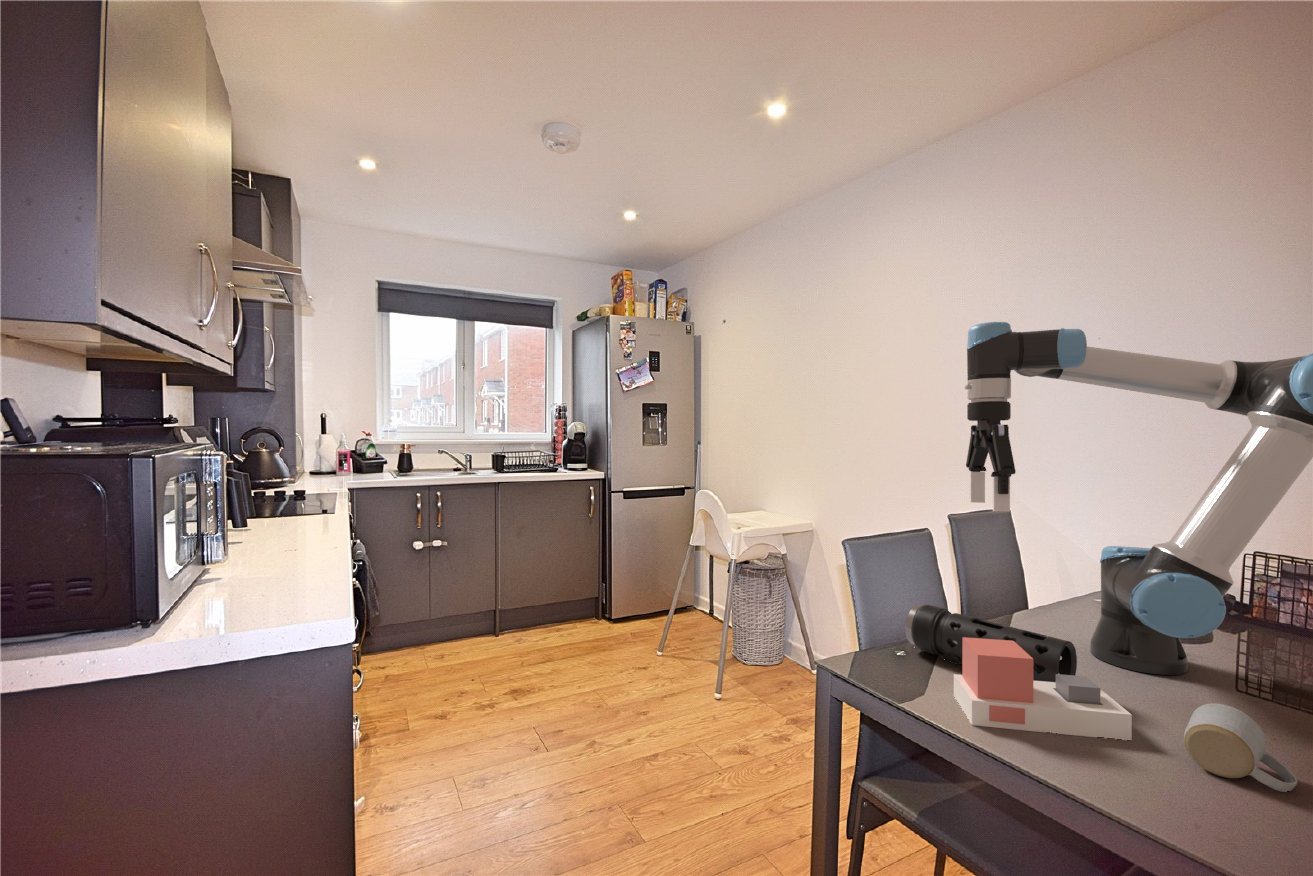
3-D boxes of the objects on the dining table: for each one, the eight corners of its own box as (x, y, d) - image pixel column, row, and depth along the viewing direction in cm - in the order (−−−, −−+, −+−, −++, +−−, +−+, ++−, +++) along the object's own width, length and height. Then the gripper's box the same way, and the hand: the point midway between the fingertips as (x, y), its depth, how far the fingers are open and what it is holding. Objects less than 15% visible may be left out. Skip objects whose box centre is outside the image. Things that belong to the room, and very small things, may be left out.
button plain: (1085, 700, 93) (1085, 676, 93) (1100, 713, 89) (1100, 688, 89) (1055, 698, 94) (1055, 674, 94) (1068, 710, 90) (1068, 685, 90)
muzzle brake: (1056, 707, 97) (1057, 646, 97) (902, 655, 119) (902, 606, 119) (1077, 691, 102) (1077, 634, 102) (926, 645, 125) (926, 598, 125)
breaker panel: (1096, 709, 95) (1096, 685, 95) (1132, 741, 86) (1132, 715, 85) (953, 696, 100) (953, 674, 100) (972, 726, 90) (972, 701, 90)
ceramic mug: (1180, 766, 79) (1182, 712, 79) (1191, 745, 84) (1192, 694, 84) (1294, 806, 71) (1296, 746, 71) (1298, 780, 76) (1300, 724, 76)
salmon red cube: (1013, 681, 97) (1013, 640, 97) (1033, 703, 89) (1033, 659, 89) (962, 677, 99) (962, 637, 99) (977, 698, 91) (977, 654, 91)
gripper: (950, 404, 127) (950, 498, 127) (990, 397, 103) (990, 515, 103) (987, 403, 125) (987, 499, 125) (1036, 397, 101) (1036, 516, 101)
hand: (988, 506), depth 114 cm, fingers open, 13 cm apart
